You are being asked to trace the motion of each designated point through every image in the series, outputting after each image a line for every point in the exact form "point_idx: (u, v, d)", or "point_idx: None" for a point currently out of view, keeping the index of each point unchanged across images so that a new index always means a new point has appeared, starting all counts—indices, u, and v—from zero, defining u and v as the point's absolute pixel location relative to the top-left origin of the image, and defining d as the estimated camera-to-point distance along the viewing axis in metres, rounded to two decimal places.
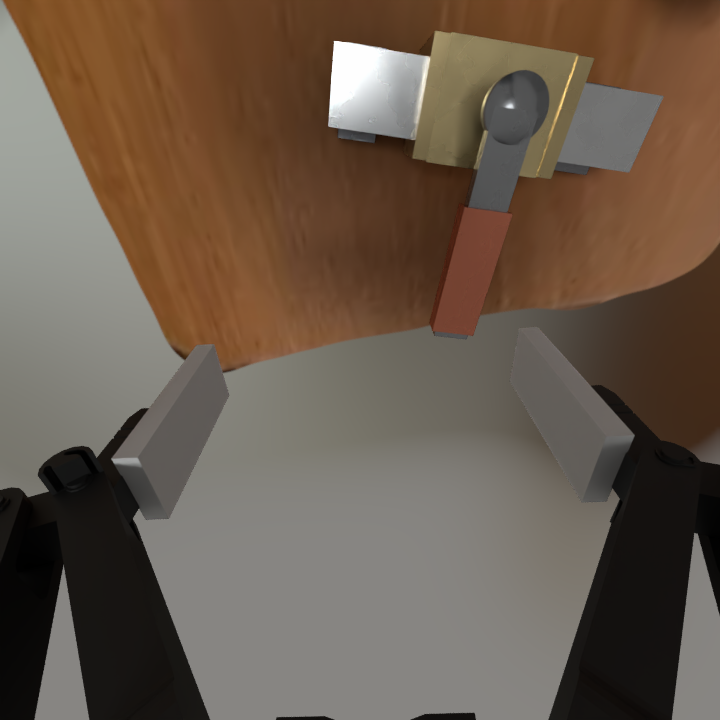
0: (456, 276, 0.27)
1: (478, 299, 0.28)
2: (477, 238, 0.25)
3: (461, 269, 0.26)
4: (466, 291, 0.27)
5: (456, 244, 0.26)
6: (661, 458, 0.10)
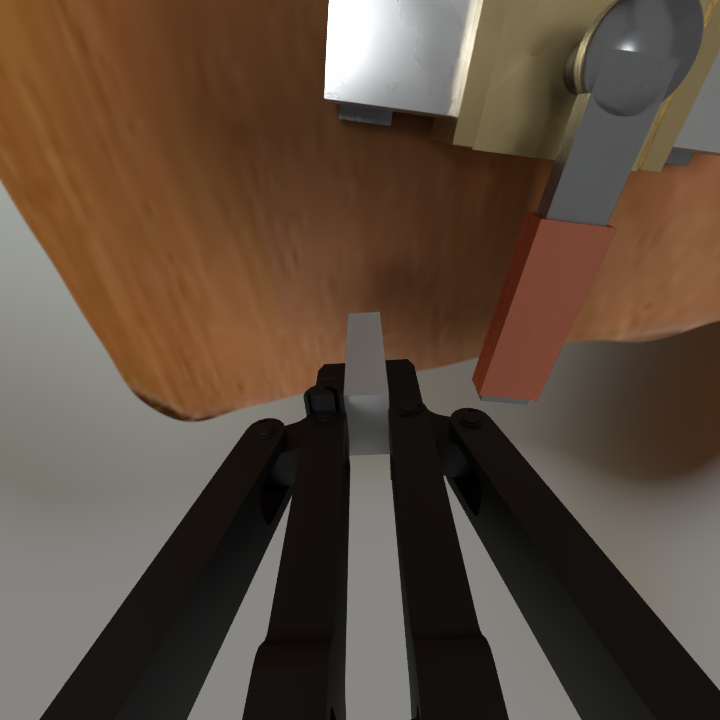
0: (519, 320, 0.18)
1: (549, 352, 0.19)
2: (556, 266, 0.16)
3: (528, 311, 0.17)
4: (532, 341, 0.18)
5: (523, 275, 0.17)
6: (402, 414, 0.12)
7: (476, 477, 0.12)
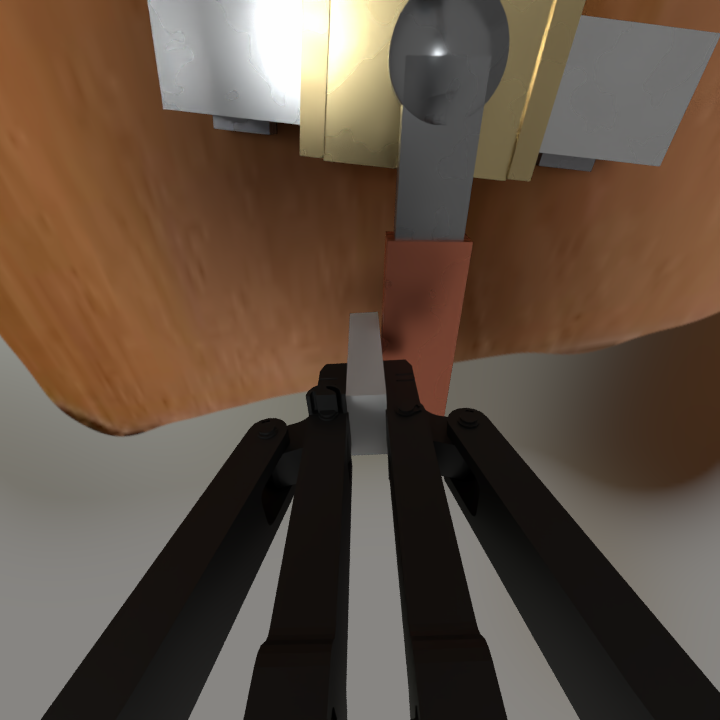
0: (397, 345, 0.17)
1: (440, 375, 0.17)
2: (420, 287, 0.15)
3: (403, 335, 0.16)
4: (418, 365, 0.17)
5: (387, 299, 0.15)
6: (400, 414, 0.12)
7: (473, 477, 0.12)
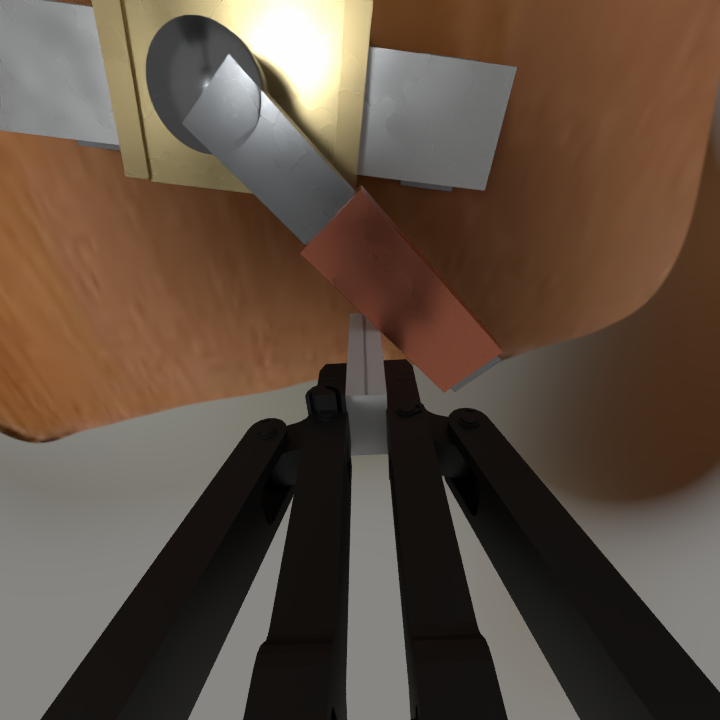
0: (391, 320, 0.16)
1: (453, 313, 0.16)
2: (359, 262, 0.15)
3: (387, 308, 0.16)
4: (425, 321, 0.16)
5: (345, 294, 0.15)
6: (400, 414, 0.12)
7: (474, 477, 0.12)
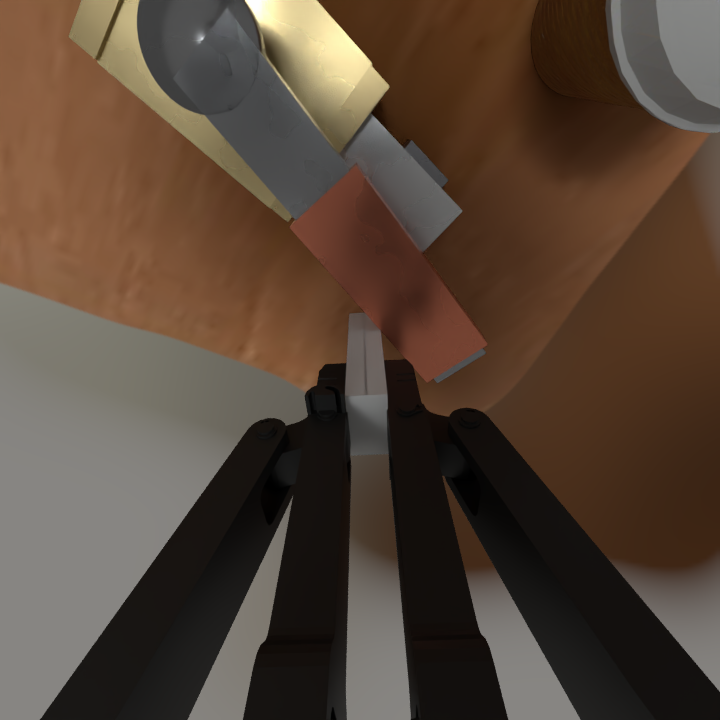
0: (378, 304, 0.16)
1: (441, 301, 0.15)
2: (349, 241, 0.14)
3: (375, 292, 0.15)
4: (413, 308, 0.16)
5: (333, 273, 0.15)
6: (401, 414, 0.12)
7: (475, 477, 0.12)
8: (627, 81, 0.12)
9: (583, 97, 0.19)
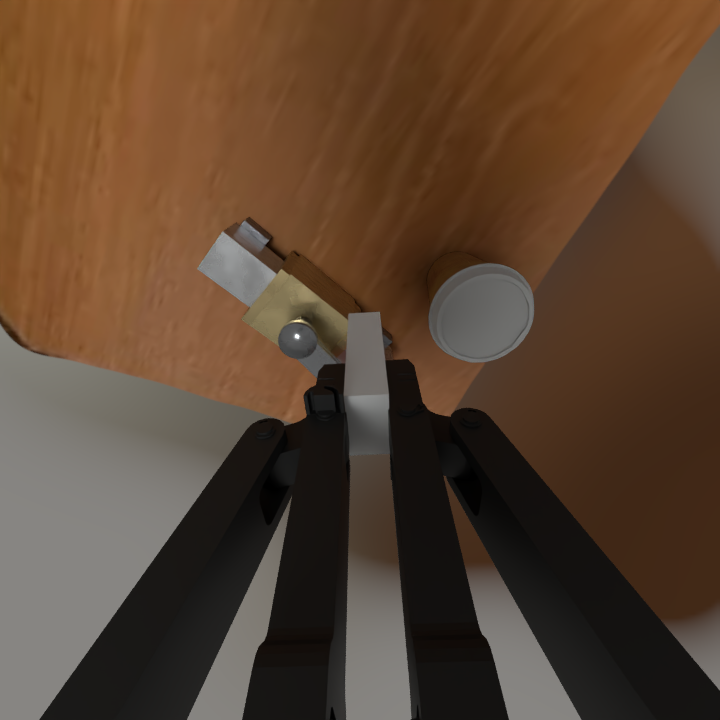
0: None
1: None
2: None
3: None
4: None
5: None
6: (402, 414, 0.12)
7: (476, 477, 0.12)
8: (440, 347, 0.36)
9: None
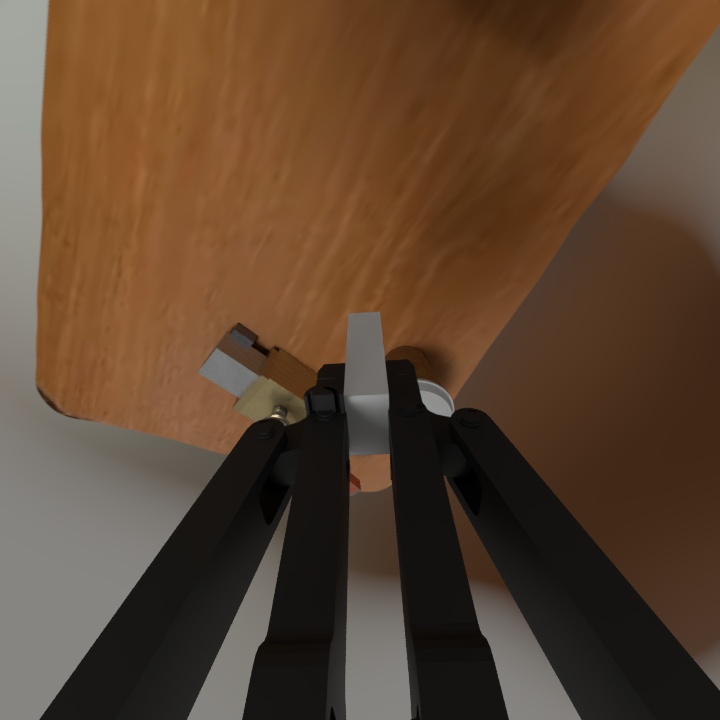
0: None
1: None
2: None
3: None
4: None
5: None
6: (402, 414, 0.12)
7: (476, 477, 0.12)
8: None
9: None
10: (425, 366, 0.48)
